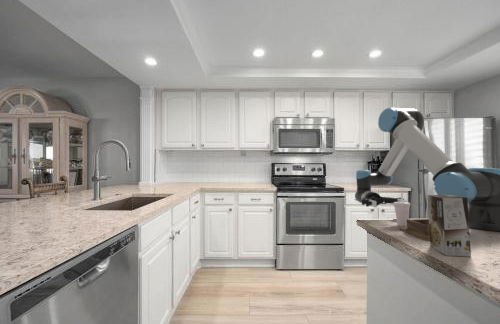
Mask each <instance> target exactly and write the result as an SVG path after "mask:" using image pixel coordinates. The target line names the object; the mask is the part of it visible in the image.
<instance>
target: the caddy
mask: <svg viewBox="0 0 500 324" xmlns="http://www.w3.org/2000/svg"><path fill="white" fill-rule="evenodd" d="M406 220H407V226H406V227H403V226H399V230H400V231H402V232H404V233H407V234H409V235H411V236H413V237H416V238H418V239H421V240H422V241H425V242H428V241H430V230H429V218H415V219H414V218H413V219H412V218H411V219H410V218H409V219H406Z"/></svg>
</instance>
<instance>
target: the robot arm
mask: <svg viewBox="0 0 500 324" xmlns="http://www.w3.org/2000/svg"><path fill="white" fill-rule="evenodd" d="M377 125H378V129H379V130H380V131H382V132H384V133H389V134H390V135H391V136H392V137H393V138H394V139H395V140H394V142H393V144H392V146H391V147H390V149H389V151H388V152H387V154H386V156H385V158H384V159H383V161H382V163H381V165H380V166H379V168H378V169H377V172H371V171H370V170H369V169H363V170H362V169H359V170H356V174H355V176H356V177H355V178H356V191H355V194H354V199H355V200H356V201H357V202H359V203H360V204H361V205H362V206H365V207H373V208H377V207H378V206H380V205H387V204H390V205H391V204H392V205H393V202H401V197H390V196H387V197H386V196H381V194H379V193H377V192H374V191H372V187H374V186H375V187H376V186H388V185H390V184H392V183H393V179H394V177H393V174H394V172H395V170H396V169H397V167H398V166H399V164H400V163H401V161H402V160H403V158H404V156H405V154H406V153H407V152H408V150H410V152H411V153H412V154H413V155H414V156H415V157H416V158H417V159H418V160H419V161H420V162H421V163H422V165H423V166H424V167H425V168H426V169H427V170H428V171H429V172H430V173H431V174H432V181H433V185H434V188H433V189H434V191H435V193H436V195H455V196H461V197H467V198H468V216H469V228H471V229H476V230H481V231H490V232H500V168H494V167H490V168H489V167H469V168H467V166H465V165H464V164H463V163H462V162H458V161H457V162H456V161H455V162H454V161H453V160H452V159H451V158H450V157H449V156H448V154H446V153H445V152H444V151H443V150H442V149H441V148H440V147H439V146H438V145H437V144H436V143H434V142H433V141H432V140H431V138H429V137H428V135H426V134H425V132H423V128H424V127H425V118H424V116H423V113H422V112H421V111H420V110H417V109H415V108H411V107H410V108H404V107H403V108H402V107H396V106H395V107H387V108H385V109H383V110H382V112H380V114H379V117H378V122H377ZM403 202H408V201H407V200H405V199H404V198H403Z"/></svg>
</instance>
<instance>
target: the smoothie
mask: <svg viewBox="0 0 500 324" xmlns="http://www.w3.org/2000/svg"><path fill="white" fill-rule="evenodd" d="M400 198H401V202H393V204H392V205H393V207H394V213H395V217H396V223H397V226H398V227H407V220H406V219H410V208H411V207H410V206H411V202H410V201H409V202H408V201H407V202H403V199H404V196H403V192H400Z"/></svg>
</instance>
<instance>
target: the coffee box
mask: <svg viewBox="0 0 500 324" xmlns="http://www.w3.org/2000/svg"><path fill="white" fill-rule="evenodd" d="M426 198H427V199H426V200H427V212H428V215H427V216H428V219H429V230H430V247H431V248H432V249H434V250H435V251H438V252H439V253H441V254H443V255H444V256H448V257H450V256H451V257H452V256H453V257H471V256H472V253H471V252H472V251H471V235H470V227H469V216H468V208H469V202H468V198H467V197H461V196H455V195H437V194H433V195H429V194H428V195H426Z"/></svg>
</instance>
